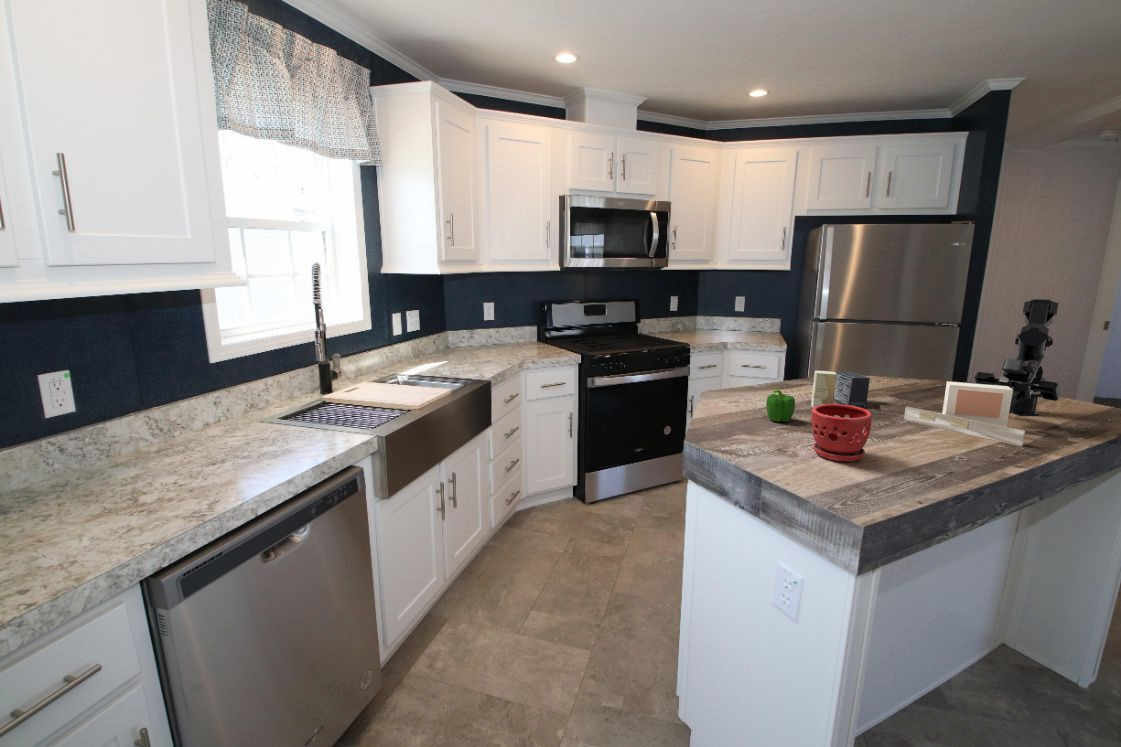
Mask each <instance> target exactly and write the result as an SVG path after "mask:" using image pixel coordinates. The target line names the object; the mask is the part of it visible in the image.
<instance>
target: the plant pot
mask: <svg viewBox="0 0 1121 747" xmlns="http://www.w3.org/2000/svg"><path fill="white" fill-rule="evenodd" d="M845 416H849V417H845ZM810 421H811V431H812V432H811V433H812V437H813V439H814V442H815V443H814V444H813V446H812V447H813V448H812V449H813V451H814V452H815V453H816V454H817V455H819V456H821V457H822V458H825V459H828V460H830V461H831V460H832V461H837V462H847V463H851V462H855V461H858V460H861V459H862V458H863V457H865V454H866V451H865V449H864V447H865V445H866V444H867V441H868V439H869V437H870V433H871V430H872V429H871V427H872V413H871V411H869V410H868V409H865V408H859V407H855V406H849V405H842V404H840V403H837V404H836V403H833V404H826V405H819V406H816V407H814V408H812V409H811V420H810Z"/></svg>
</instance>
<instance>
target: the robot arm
mask: <svg viewBox="0 0 1121 747" xmlns="http://www.w3.org/2000/svg"><path fill="white" fill-rule="evenodd" d="M1058 309H1059V302H1055V301H1053V300H1051V299H1049V298H1034V299H1030V300H1028V301H1027V300H1026V301H1024V302H1023V308H1022V315H1024V319H1023V320H1024V323H1025V324H1026V325H1024V326H1022V327H1021V329H1020V332H1019V333H1016V337H1015V342H1014V345H1015V346H1017V352H1018V354H1017V356H1016V357H1015V359H1014V358H1005V359H1004V361H1003V364H1002V367H1001V370H1002V371H1003V374H1002V375H1003V376H1000V377H999V378H996V377H995V373H993V372H989V371H978V372H976V374H975V375H974V376H973V377H974V380H975V384H985V385H998V386H1008V387H1010V388H1011V389H1012V390H1013V393H1012V398H1011V404H1010V410H1009V413H1012V414H1014V415H1017V416H1040V413H1038V412H1036V410H1037V404H1038V398H1042V399H1043V400H1047V401H1052V402H1053V401H1054V402H1057V401H1059V398H1060V397H1061V387H1060V384H1059V383H1058V381H1055V380H1046V378H1044V377H1043V374H1044V370H1043V367H1042V366H1041V364H1042V362H1043V360H1044V359H1045V354H1044V352H1045V351H1046V350H1047V349H1048V348H1050V347H1051V346H1053V343H1054V339H1053V338H1052V336H1051V335H1049V333H1050V329H1049V326H1050V325H1052V324H1053V320H1054V317H1057V316H1058V315H1057V314H1058Z"/></svg>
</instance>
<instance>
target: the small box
mask: <svg viewBox="0 0 1121 747" xmlns="http://www.w3.org/2000/svg"><path fill="white" fill-rule="evenodd" d="M836 374H837V377H836V384H835V392H834V400H835V401H834V400H833V401H834V402H836V401H837V402H836V403H838V402H839V403H838V404H840V403H841V404H840V405H842V404H843V405H849V406H855V407H859V408H863V409H865V408H867V405H868V404H867V402H868V396H869V395H868V394H869V388H870V382H871V381H870V379H871V378H870V377H868V376H865V375H862V374H861V373H858V372H854V371H836Z"/></svg>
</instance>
